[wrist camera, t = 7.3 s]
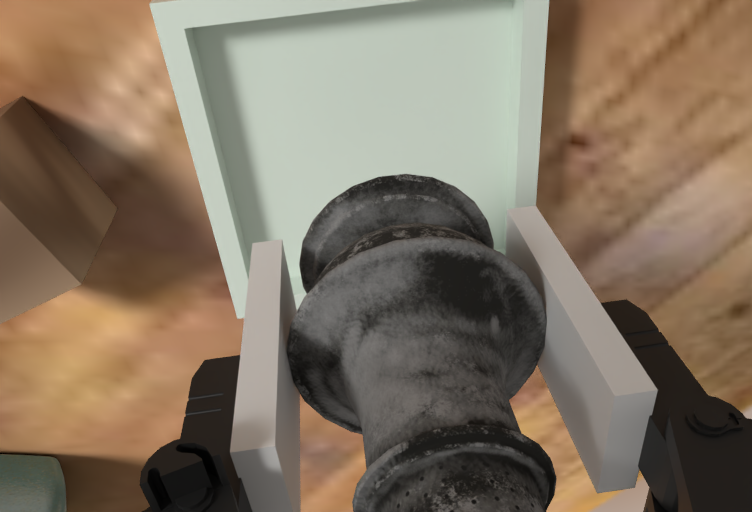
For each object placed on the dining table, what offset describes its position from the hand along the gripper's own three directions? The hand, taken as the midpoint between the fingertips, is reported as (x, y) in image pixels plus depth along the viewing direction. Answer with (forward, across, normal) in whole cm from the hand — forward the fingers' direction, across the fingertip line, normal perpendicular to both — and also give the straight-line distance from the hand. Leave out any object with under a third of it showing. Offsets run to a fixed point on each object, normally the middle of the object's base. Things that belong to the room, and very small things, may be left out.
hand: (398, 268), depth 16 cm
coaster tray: (+8, 0, 0) cm, 8 cm away
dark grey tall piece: (+1, 0, 0) cm, 1 cm away
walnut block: (+8, -13, 0) cm, 16 cm away
